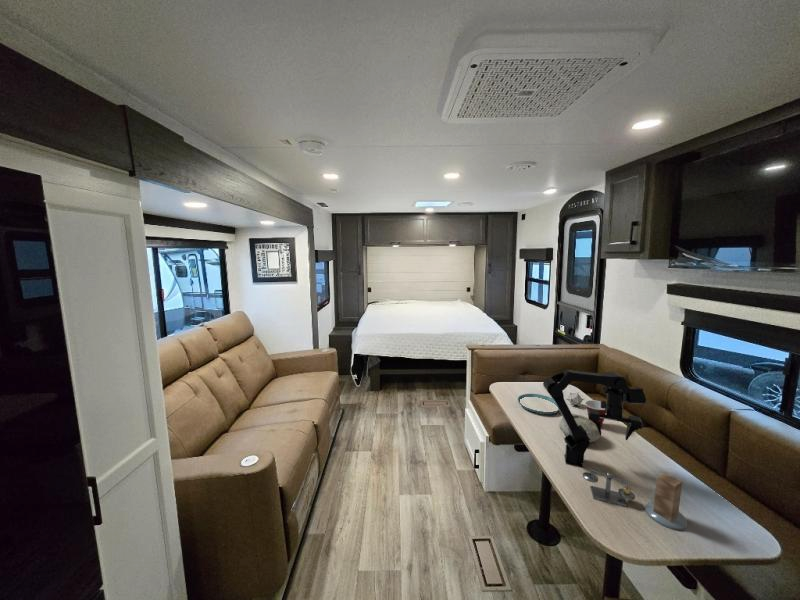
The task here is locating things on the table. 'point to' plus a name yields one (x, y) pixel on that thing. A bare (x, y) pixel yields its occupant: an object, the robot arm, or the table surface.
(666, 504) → the walnut block
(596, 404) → the plastic cup
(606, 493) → the balance
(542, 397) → the teal ring
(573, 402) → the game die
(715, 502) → the table surface
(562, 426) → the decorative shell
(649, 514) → the slate dish
